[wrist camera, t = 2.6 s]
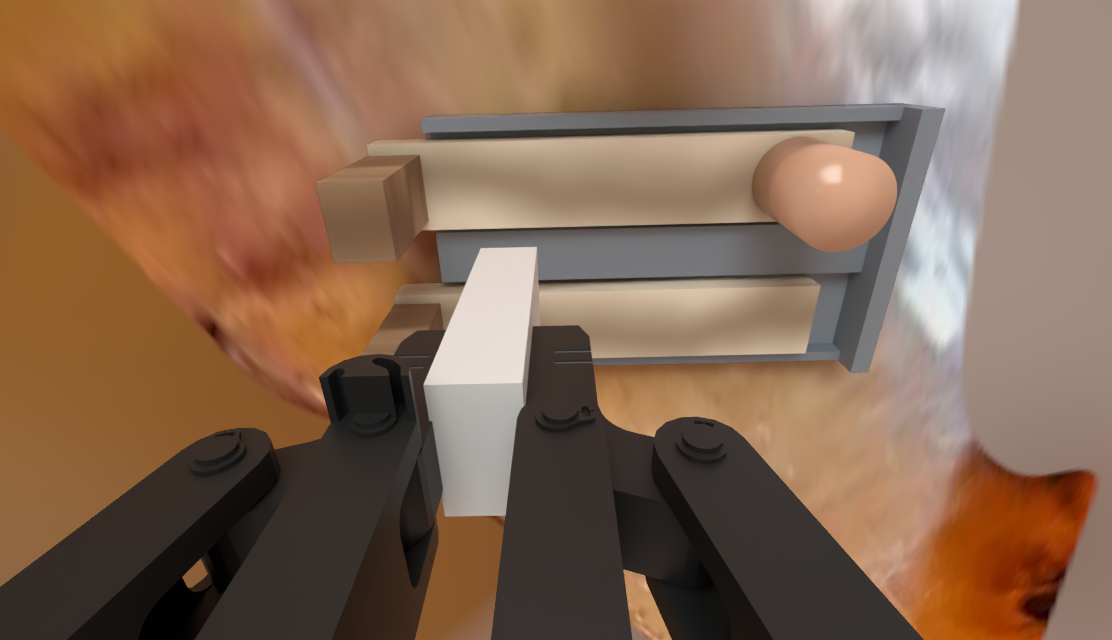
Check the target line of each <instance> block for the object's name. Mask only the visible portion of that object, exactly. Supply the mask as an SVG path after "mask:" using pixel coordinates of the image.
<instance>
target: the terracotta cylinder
mask: <svg viewBox="0 0 1112 640" xmlns="http://www.w3.org/2000/svg"><path fill="white" fill-rule="evenodd" d="M752 193H753V197H754V200H755V202H756V204H757V206H758V207H759V208H760V209H761V210H762V211H763V212H764V213H765V214H767V215H768V216H770V217H771V218H772V219H774V220H775V221H777V222H778V223H779V224H781V225H782V226H784V227H785V228H786V229H788V230H789V231H791V232H792V233H793V234H795V235H796V236H798V237H799V238H800V239H802V240H803V241H805V242H806V243H807V244H809V245H810V246H812V247H813V248H815V249H818V250H821V251H825V252H842V251H847V250H850V249H853V248H856V247H858V246H860V245H862V244H864V243H865V242H867V241H868V240H870V239H871V238H872V237H874V236H875V235H876V234H877V233H878V232H879V231H880V230H881V229H882V228H883V226H884V225H885V224H886V222H887V221H888V219H889V218H890V216H891V214H892V212H893V209H894V206H895V203H896V199H897V183H896V178H895V176H894V173H893V171H892V170H891V168H890V167H889V166H888V165H887V163H885V162H884V161H883V160H882V159H880V158H878V157H876V156H873V155H870V154H867V153H864V152H860V151H857V150H853V149H850V148H846V147H843V146H840V145H836V144H833V143H829V142H826V141H823V140H819V139H816V138H812V137H807V136H797V137H792V138H788V139H786V140H783V141H781V142H779V143H778V144H776V145H775V146H773V147H772V148H771V149H770V150H768V151H767V152H766V154H765V155H764V156H763V157H762V158H761V160H760V161H759V163H758V165H757V167H756V169H755V172H754V175H753V180H752Z"/></svg>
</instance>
